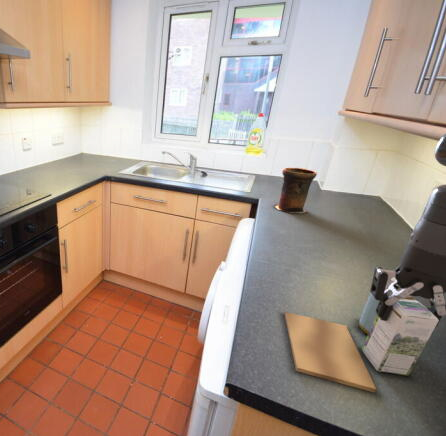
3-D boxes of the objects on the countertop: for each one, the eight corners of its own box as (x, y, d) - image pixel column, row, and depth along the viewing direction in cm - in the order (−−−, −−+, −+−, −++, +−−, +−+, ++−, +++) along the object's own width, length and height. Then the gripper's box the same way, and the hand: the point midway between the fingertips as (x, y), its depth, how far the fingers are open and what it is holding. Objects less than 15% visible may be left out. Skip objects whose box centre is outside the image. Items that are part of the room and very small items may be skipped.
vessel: (297, 204, 157) (306, 167, 150) (312, 214, 144) (323, 173, 136) (269, 204, 157) (277, 166, 150) (282, 213, 144) (292, 173, 137)
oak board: (344, 328, 71) (346, 325, 70) (374, 393, 55) (376, 389, 55) (284, 315, 75) (285, 311, 74) (296, 371, 59) (297, 367, 59)
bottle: (399, 347, 66) (426, 290, 60) (360, 335, 69) (383, 280, 63) (391, 328, 71) (415, 274, 66) (355, 317, 74) (375, 266, 69)
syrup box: (390, 354, 64) (416, 298, 58) (409, 377, 58) (440, 318, 53) (360, 350, 65) (383, 294, 59) (377, 373, 59) (404, 314, 54)
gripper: (397, 247, 50) (365, 325, 57) (513, 264, 46) (464, 347, 52) (379, 230, 57) (352, 302, 63) (478, 243, 52) (439, 319, 58)
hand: (403, 322), depth 57 cm, fingers closed on syrup box, 6 cm apart
